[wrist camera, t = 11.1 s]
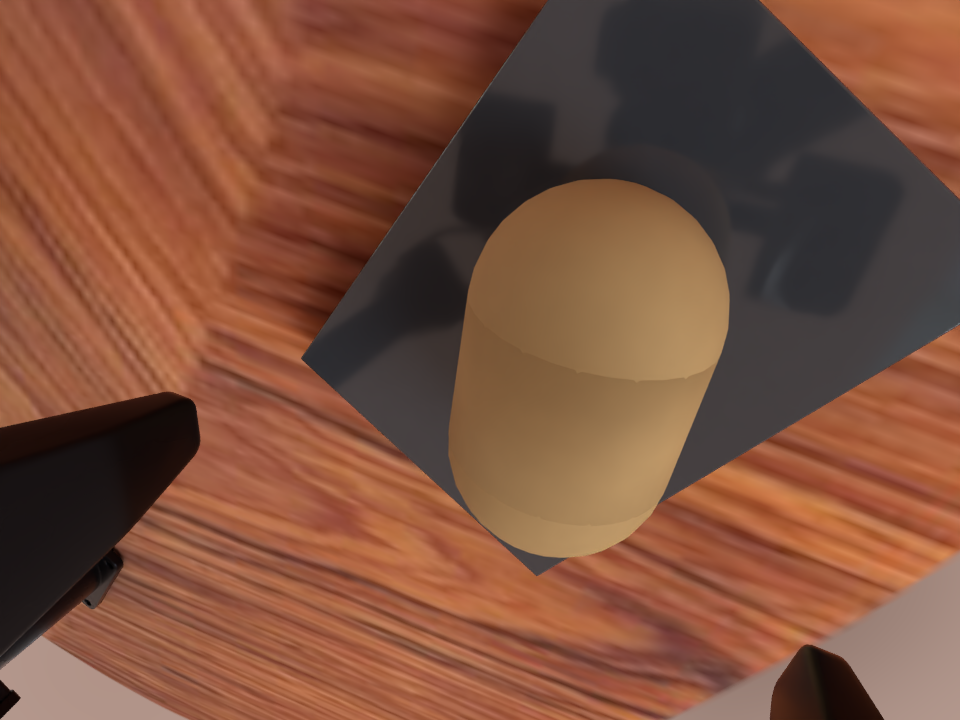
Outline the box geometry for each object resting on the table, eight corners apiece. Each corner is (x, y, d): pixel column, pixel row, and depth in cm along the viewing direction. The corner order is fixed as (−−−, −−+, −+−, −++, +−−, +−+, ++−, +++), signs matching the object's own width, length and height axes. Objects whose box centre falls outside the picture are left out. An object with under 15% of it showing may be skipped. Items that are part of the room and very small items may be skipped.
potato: (622, 469, 16) (654, 624, 12) (449, 441, 16) (422, 589, 12) (724, 174, 12) (830, 255, 8) (493, 136, 12) (475, 198, 8)
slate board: (546, 550, 19) (536, 577, 18) (322, 342, 19) (299, 358, 18) (1013, 258, 11) (1039, 278, 10) (642, -110, 11) (633, -126, 10)
